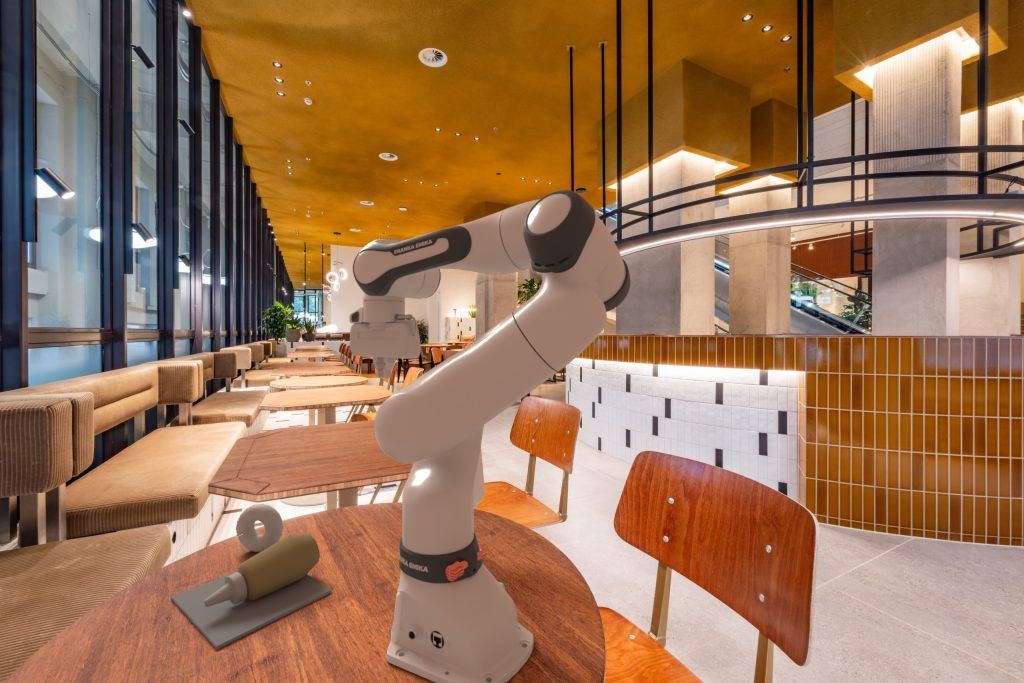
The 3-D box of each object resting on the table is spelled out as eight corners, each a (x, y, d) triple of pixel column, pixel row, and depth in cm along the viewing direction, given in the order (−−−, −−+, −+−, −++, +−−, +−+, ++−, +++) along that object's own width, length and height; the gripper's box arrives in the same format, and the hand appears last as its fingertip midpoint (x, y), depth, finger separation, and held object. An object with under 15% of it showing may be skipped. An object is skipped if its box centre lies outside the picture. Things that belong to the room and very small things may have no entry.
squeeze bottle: (329, 562, 82) (222, 623, 67) (311, 574, 86) (206, 633, 71) (312, 522, 83) (204, 572, 69) (295, 535, 88) (190, 585, 73)
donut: (286, 548, 94) (286, 502, 94) (276, 556, 91) (276, 508, 91) (243, 546, 96) (243, 500, 95) (232, 553, 92) (231, 506, 92)
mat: (331, 592, 78) (331, 589, 78) (216, 649, 64) (216, 646, 64) (278, 558, 90) (278, 555, 90) (171, 599, 76) (171, 596, 76)
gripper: (427, 314, 93) (427, 380, 93) (368, 316, 105) (368, 374, 105) (403, 313, 88) (403, 382, 88) (344, 315, 100) (344, 376, 100)
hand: (384, 378), depth 97 cm, fingers closed
